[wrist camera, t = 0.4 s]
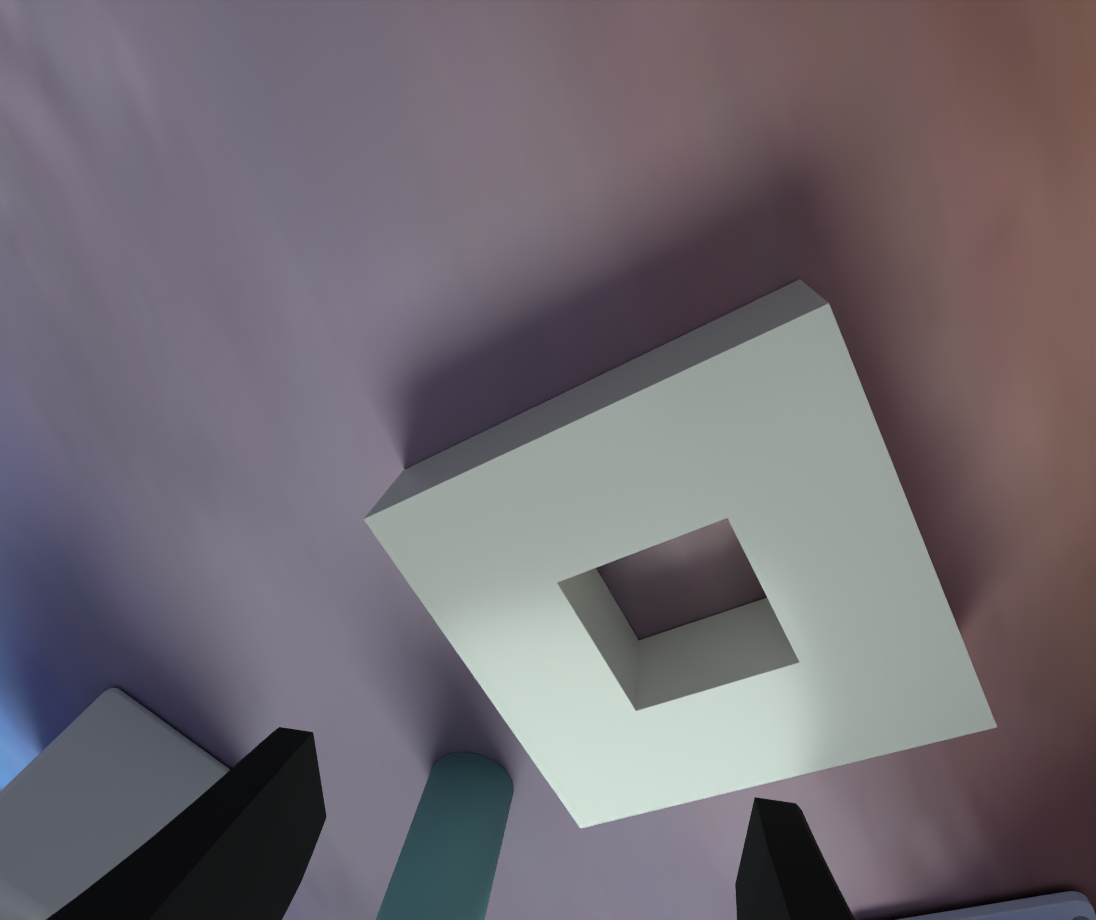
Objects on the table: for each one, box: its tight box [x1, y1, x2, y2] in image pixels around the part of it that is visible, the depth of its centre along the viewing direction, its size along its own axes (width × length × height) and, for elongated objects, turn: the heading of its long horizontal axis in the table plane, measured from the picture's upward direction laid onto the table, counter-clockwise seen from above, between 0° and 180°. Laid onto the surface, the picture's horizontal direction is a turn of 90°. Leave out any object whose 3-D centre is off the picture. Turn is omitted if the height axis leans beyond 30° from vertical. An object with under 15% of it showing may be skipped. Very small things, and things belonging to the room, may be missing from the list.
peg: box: [376, 752, 513, 920], centre depth 22 cm, size 3×3×7 cm
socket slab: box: [364, 279, 997, 828], centre depth 18 cm, size 12×12×3 cm
